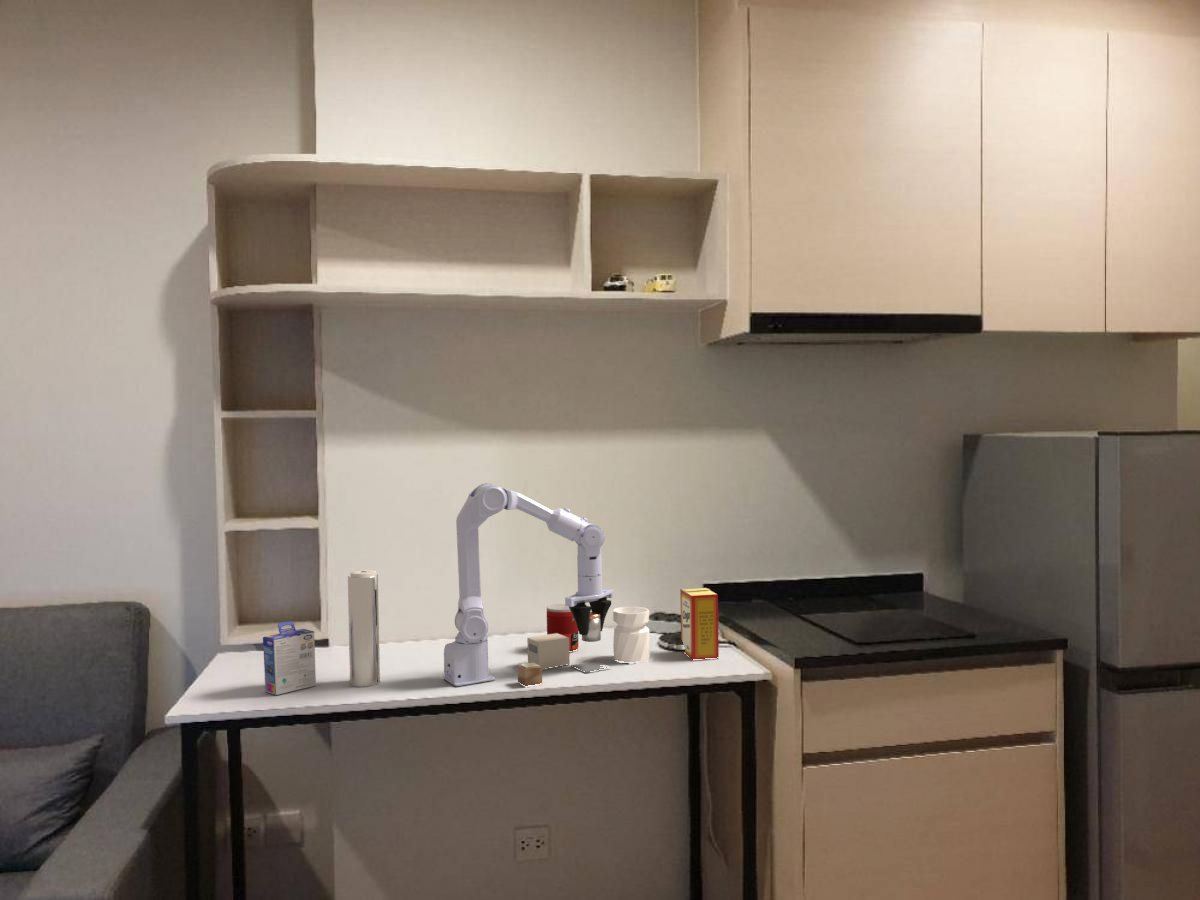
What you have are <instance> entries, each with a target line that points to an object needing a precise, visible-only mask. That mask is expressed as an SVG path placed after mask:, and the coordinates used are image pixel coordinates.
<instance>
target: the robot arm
mask: <svg viewBox="0 0 1200 900" xmlns="http://www.w3.org/2000/svg"><path fill="white" fill-rule="evenodd" d="M503 510H505V511H511V510H512V511H513V510H519V511H521V512H522V513H526V514H528V515H529V516H531V517H534V518H536V519H539V520H541V521H543V522H545V523H546V526H547V530H549V531H550V532H553V533H554V534H556V535H559V536H560V537H562V538H564V539H567V540H569V541H571V542H574V543H576V545H577V554H576V555H577V558H576V559H577V565H576V566H577V591H576V592H575V594H573V595H570V596H566V597H564V601H565V602H564V604H565V606H569V609H570V610H571V612H572V614H573V616H574V618H575V621H576V624H577V627H578V635H581V636H582V635H587V634H588V621H589V615H590V612H597V613H600V622H601V632H603V629H604V624H605V619H606V617H607V614H608V611H609V609H610V608H611V607H612V600H610V599H614V598H615V589H612V588H606V589H603V560H602V559H603V555H602V546H603V545H604V543H605V541H606V536H605V535H604V531H603V530H602V528H601V527H600V526H598V525H596V524H594V523H591V522H590V521H588V518H586V517H580V516H578V515H575V514H574V513H571V509H569V508H567V507H564V508H561V507H558V508H554V509H552V510H551V509H550V508H548V507H547V506H545V505H543V504H541V503H540V502H537V501H535V500H533V499H531V498H529V497H528V496H525V495H524V494H522V493H520V492H517V491H514V490H511V489H508V488H504V487H500V486H498V485H496V484H492V483H488V482H487V483H486V482H484V483H480V484H479V485H478V486H477V487H475V488H474V489H473V490H471V491H470V492H469V493H468V496H467V498H466V500H465V502H464V504H463V506H462V508H461V509H460V510H459V513H458V515H457V516H456V519H455V520H456V521H455V523H456V544H457V567H458V570H457V571H458V593H459V595H458V596H459V598H458V602H457V606H458V607H457V612H456V614H455V616H454V626H455V628H456V629H457V631H458V633H457V634H456V636H455V637H454V641H452V642H450V643H449V642H448V643H446V644H445V645H444V649H443V671H444V672H443V675H444V676H442V679H443V680H444V681H447V682H448V683H450V684H451V685H453V686H454V687H460V686H461V687H462V686H468V685H472V684H473V685H474V684H479V683H484V682H490V681H495V680H496V677H495V676H493V675H491V674H489V646H488V645H489V643H488V642H489V639H488V638H489V637H488V632H489V622H488V620H487V618H486V617H485V614H484V605H483V601H482V600H483V599H482V588H481V587H482V584H481V566H480V565H481V563H480V540H479V528H480V527H481V526H482V524H483V523H485V522H486V520H488V518H490V517H492V516H494V515H496V514H498V513H500V512H502V511H503ZM587 603H589V605H590V606H589V605H587Z"/></svg>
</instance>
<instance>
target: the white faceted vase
mask: <svg viewBox="0 0 1200 900" xmlns="http://www.w3.org/2000/svg"><path fill="white" fill-rule="evenodd" d="M612 617H613V618H612V620H613V622H614V623H616V624H617V626H616V627H614V628H613V660H614V659H615V660H618V661H624V662H636V661H644V660H647V659H648V658H649V657H650V628H649V627H647V626H646V624H647V623H648V622H650V609H648V607H647V608H646V607H641V606H621V607H616V608H613V613H612ZM650 658H651V657H650ZM650 658H649V659H650ZM615 660H614V661H615Z"/></svg>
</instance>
